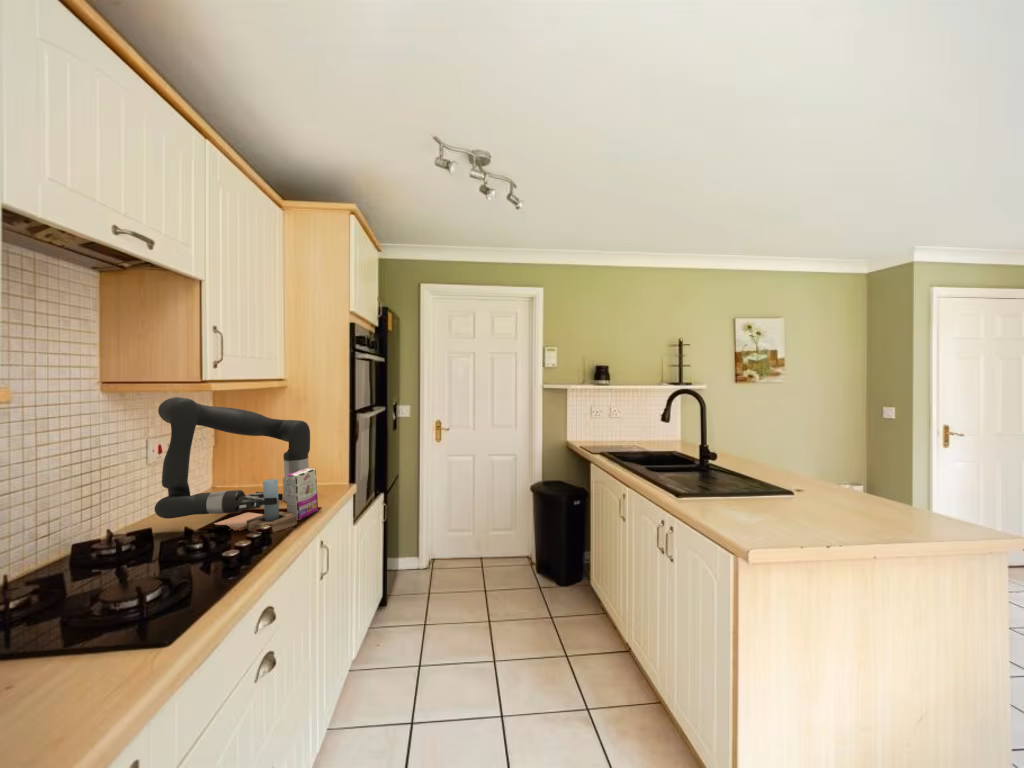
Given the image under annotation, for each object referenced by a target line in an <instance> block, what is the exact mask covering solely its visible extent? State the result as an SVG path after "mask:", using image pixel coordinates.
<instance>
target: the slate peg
mask: <svg viewBox="0 0 1024 768" xmlns="http://www.w3.org/2000/svg"><path fill="white" fill-rule="evenodd" d="M278 481H279V480H278V479H277V478H271V479H266V480H265V479H264V480H263V481H262V487H263V488H262V489H263V490H262V492H263V493H264V500H265V498H277V504H276V505H265V506H263V510H264V512H263V513H264V516H265V521H266V522H272V521H275V520H278V519H279V512H280V507H279V505H280V504H279V501H280V500H278V494H279V484H278V483H279V482H278Z"/></svg>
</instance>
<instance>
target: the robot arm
mask: <svg viewBox="0 0 1024 768" xmlns="http://www.w3.org/2000/svg"><path fill="white" fill-rule="evenodd" d="M157 411H158V412H157V413H158V415H159V417H160V418H161V419H162V421H164V422H166V423H167V424H170V433H171V434H170V442H169V446H168V448H167V451H166V452H165V453H166V454H165V456H164V459H163V464H162V474H161V485H162V487H163V488H165V489H167V492H168V493H167V496H164V497H162V498H161V499H159V500H158V501H157V502H156V503H155V506H154V512H155V514H156V515H157V516H158V517H159V518H162V519H167V520H168V519H178V518H185V517H189V516H194V515H225V514H239V513H241V512H243V511H247V510H253V509H260V508H261V507H264V506H265V505H276V504H277V498H265V500H264V493H263V491H255V493H254V492H253V493H248V494H247V495H246V494H245V492H244V491H243V490H242V489H233V490H219V491H213V492H212V491H211V492H201V493H200V492H199V493H195V494H191V491H190V486H189V482H188V481H189V471H190V469H189V468H190V457H191V450H192V445H193V439H194V435H195V430H196V427H197V426H201V427H204V428H205V427H206V428H209V429H210V428H211V429H213V430H216V431H221V432H224V433H228V434H235V435H241V436H248V437H249V436H250V437H268V438H271V439H276V440H281V441H284V442H288V449H287V451H285V452H284V453H283V476H284V477H283V478H282V492H283V493H278V501H282V500H283V501H285V503H287V495H286V480H285V476H286V475H289V474H291V473H294V472H297V471H300V470H303V469H306V468H308V469H309V468H310V465H309V464H310V463H309V453H310V450H311V430H310V429H311V428H310V427H309V424H308V423H307V422H305V421H303V420H297V419H278V418H271V417H268V416H265V415H263V414H261V413H258V412H254V411H251V410H246V409H240V408H234V407H227V406H226V407H225V406H212V405H211V406H210V405H205V404H201V403H198V402H196V401H194V399H191V398H187V397H179V396H177V397H169V398H167V399H166V400H163V401H162V402H160V404H159V406H158V409H157Z"/></svg>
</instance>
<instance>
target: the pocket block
mask: <svg viewBox="0 0 1024 768" xmlns="http://www.w3.org/2000/svg"><path fill="white" fill-rule="evenodd" d="M297 524H298V520H297V516H296V515H294V513H288V512H286V511H285V512H284V511H279V519H278V520H275V521H272V522H266V521H265V516H264V515H261V516H259V517H256V518H253V519H250V520H247V528H246V530H248V532H249V531H253V530H256V529H258V528H260V527H262V526H265V525H269V526H271V527H272V530H273V531H274V532H276V531H279V530H281V531H283V530H282V529H284V530H286V529H288V527H289V528H291V527H293V526H295V525H297ZM285 528H286V529H285ZM279 532H280V531H279ZM276 533H277V532H276Z"/></svg>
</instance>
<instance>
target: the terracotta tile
mask: <svg viewBox="0 0 1024 768" xmlns="http://www.w3.org/2000/svg"><path fill="white" fill-rule="evenodd" d="M261 515H264V514H263V513H256V512H249V511H247V512H244V513H241V514H238V515H236V516H233V517H229V518H227V519H224V520H223V519H222V520H220V521H218V522H214V523H213V524H215V525H227V526H229V527H230V528H231V529H233V530H232V531H237V530H239V531H238V532H240V531H243V530H247V520H250V519H253V518H256V517H259V516H261ZM231 529H230V530H231Z"/></svg>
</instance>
